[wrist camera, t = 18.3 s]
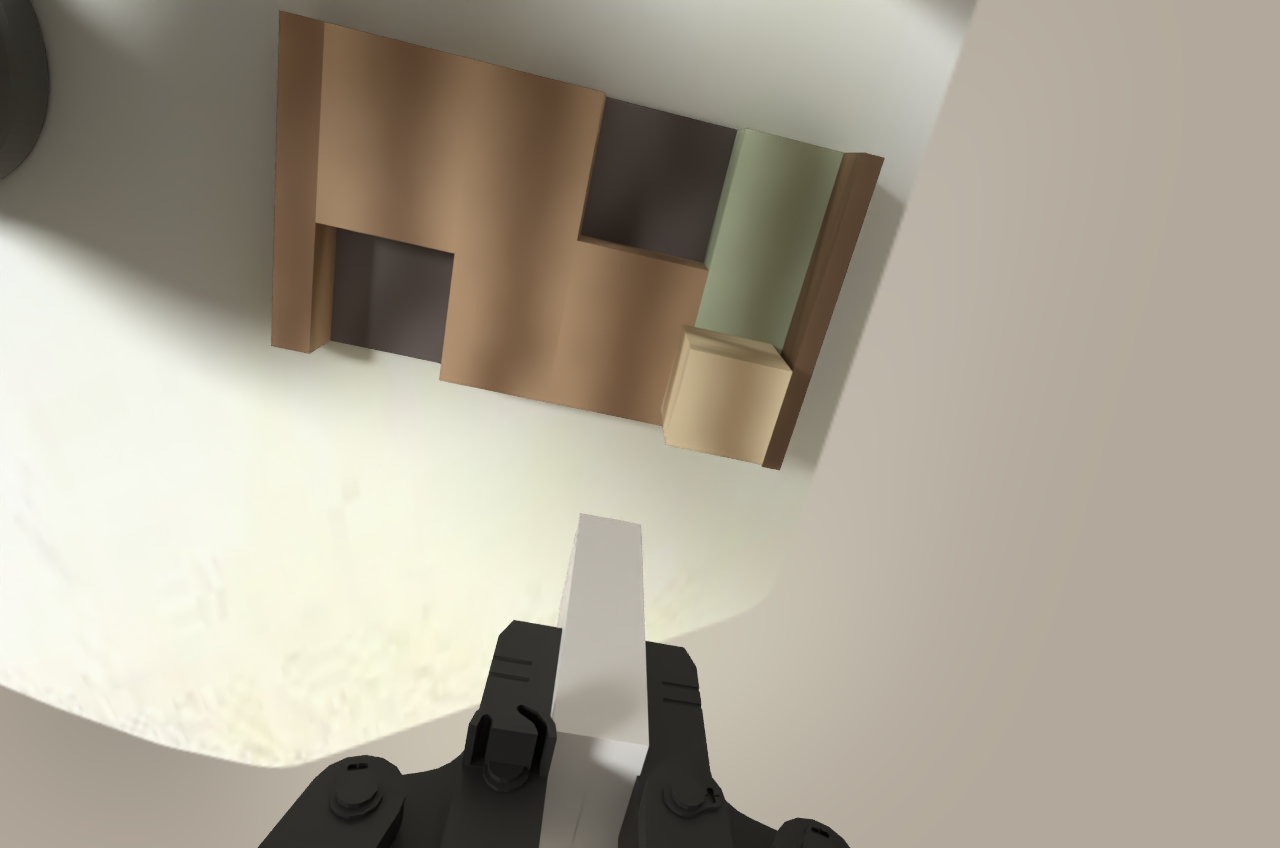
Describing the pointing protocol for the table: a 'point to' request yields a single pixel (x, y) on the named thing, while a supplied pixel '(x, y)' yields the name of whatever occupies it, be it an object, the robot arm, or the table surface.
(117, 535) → the table surface
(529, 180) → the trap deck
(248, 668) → the table surface
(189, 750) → the table surface
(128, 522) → the table surface
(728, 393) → the maple block
